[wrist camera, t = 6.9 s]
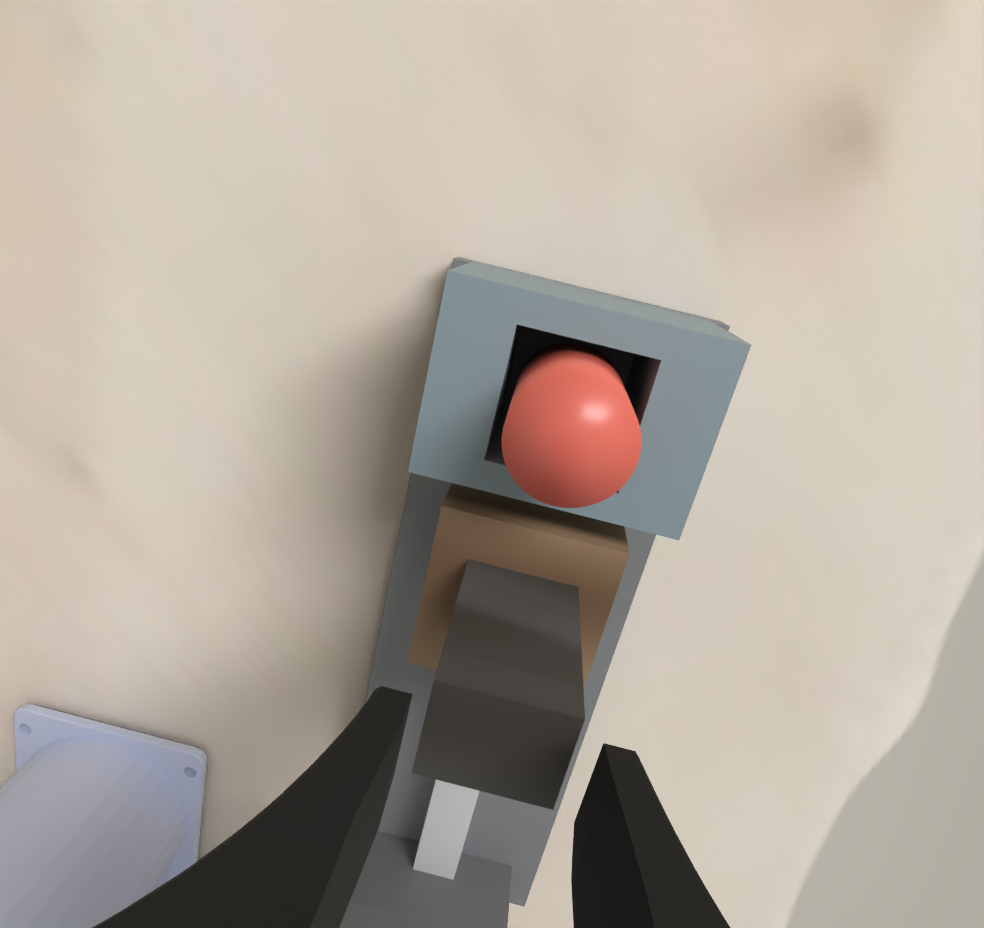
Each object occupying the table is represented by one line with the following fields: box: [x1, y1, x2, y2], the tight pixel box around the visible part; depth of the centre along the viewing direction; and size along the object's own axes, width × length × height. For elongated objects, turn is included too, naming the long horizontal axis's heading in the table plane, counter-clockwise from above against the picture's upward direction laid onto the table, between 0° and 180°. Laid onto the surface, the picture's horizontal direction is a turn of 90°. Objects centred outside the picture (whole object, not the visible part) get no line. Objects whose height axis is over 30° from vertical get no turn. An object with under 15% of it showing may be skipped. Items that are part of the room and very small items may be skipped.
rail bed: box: [339, 257, 751, 928], centre depth 21 cm, size 24×8×5 cm, turn 167°
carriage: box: [407, 483, 630, 810], centre depth 17 cm, size 5×5×8 cm
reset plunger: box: [502, 343, 642, 508], centre depth 15 cm, size 3×3×4 cm
